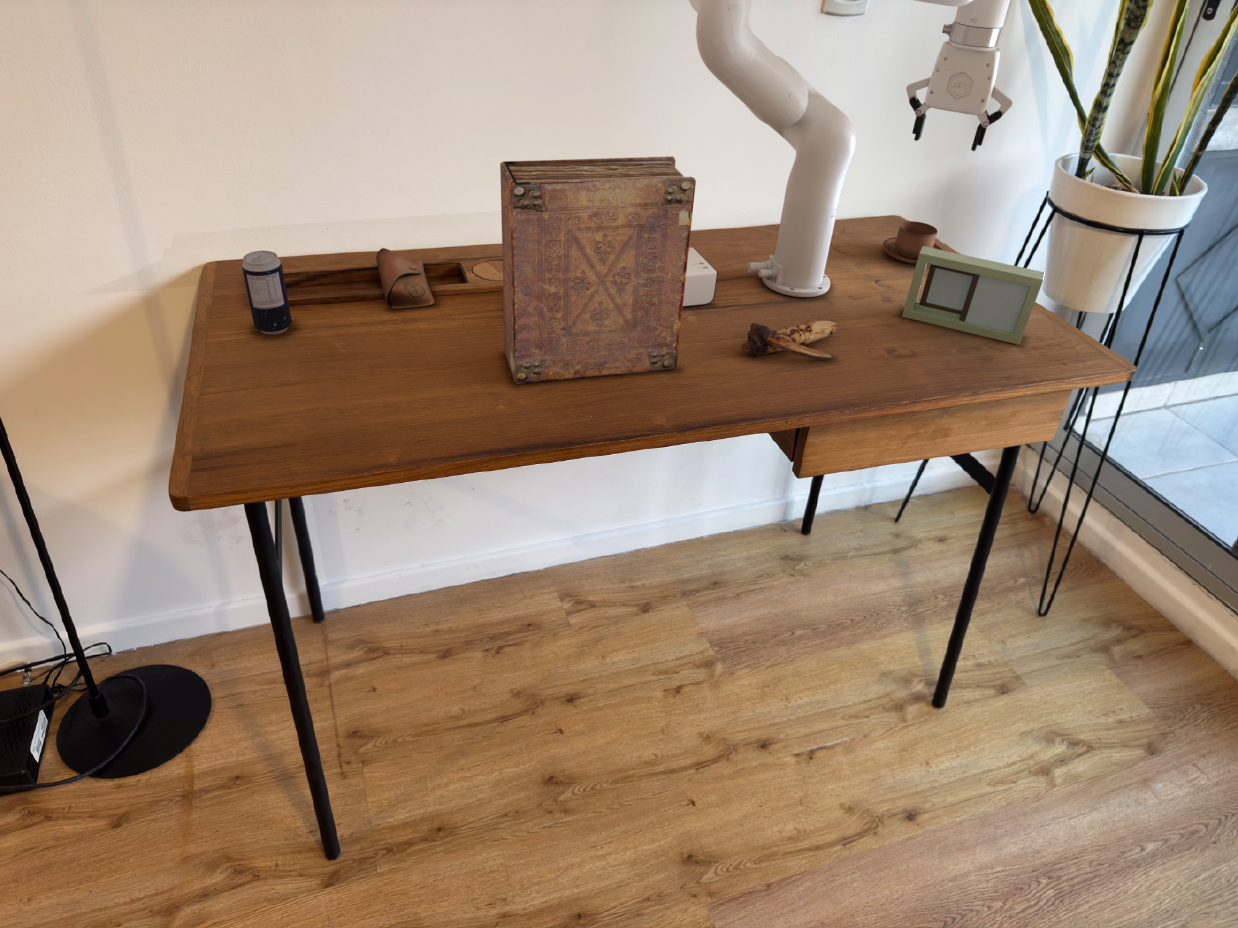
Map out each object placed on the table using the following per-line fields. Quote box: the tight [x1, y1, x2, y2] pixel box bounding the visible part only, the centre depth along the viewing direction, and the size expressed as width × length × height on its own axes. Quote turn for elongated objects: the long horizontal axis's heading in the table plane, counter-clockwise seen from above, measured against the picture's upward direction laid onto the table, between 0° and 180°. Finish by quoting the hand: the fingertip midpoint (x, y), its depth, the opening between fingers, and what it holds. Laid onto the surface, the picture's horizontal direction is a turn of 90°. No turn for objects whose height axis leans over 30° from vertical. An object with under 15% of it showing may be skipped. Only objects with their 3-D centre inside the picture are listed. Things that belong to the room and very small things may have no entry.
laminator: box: [683, 246, 719, 308], centre depth 154 cm, size 34×12×6 cm, turn 109°
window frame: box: [901, 246, 1045, 346], centre depth 152 cm, size 20×4×12 cm, turn 65°
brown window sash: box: [919, 264, 974, 315], centre depth 156 cm, size 9×7×8 cm
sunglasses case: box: [375, 247, 436, 310], centre depth 154 cm, size 18×7×7 cm, turn 18°
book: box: [499, 155, 697, 385], centre depth 128 cm, size 25×9×30 cm, turn 106°
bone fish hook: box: [741, 319, 838, 361], centre depth 143 cm, size 9×5×18 cm
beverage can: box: [241, 250, 293, 335], centre depth 136 cm, size 6×6×12 cm
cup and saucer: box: [882, 220, 943, 265], centre depth 177 cm, size 12×12×6 cm
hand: (945, 144), depth 153 cm, fingers open, 9 cm apart
